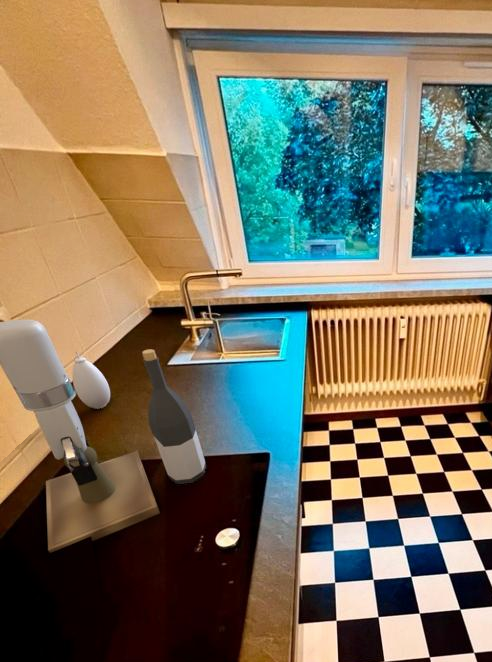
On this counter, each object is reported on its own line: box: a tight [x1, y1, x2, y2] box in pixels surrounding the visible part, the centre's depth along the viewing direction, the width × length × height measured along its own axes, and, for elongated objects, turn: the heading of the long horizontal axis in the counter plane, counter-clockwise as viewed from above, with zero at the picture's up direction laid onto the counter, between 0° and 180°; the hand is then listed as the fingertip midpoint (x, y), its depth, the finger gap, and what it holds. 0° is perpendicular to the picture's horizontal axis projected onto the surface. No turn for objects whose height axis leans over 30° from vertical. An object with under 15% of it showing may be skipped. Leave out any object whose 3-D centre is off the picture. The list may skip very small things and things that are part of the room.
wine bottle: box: [141, 349, 207, 485], centre depth 80 cm, size 8×8×30 cm
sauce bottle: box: [72, 349, 111, 410], centre depth 107 cm, size 8×8×18 cm
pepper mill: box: [63, 446, 115, 504], centre depth 77 cm, size 6×6×11 cm
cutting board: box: [45, 450, 161, 553], centre depth 80 cm, size 18×22×2 cm
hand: (85, 468), depth 76 cm, fingers open, 9 cm apart
